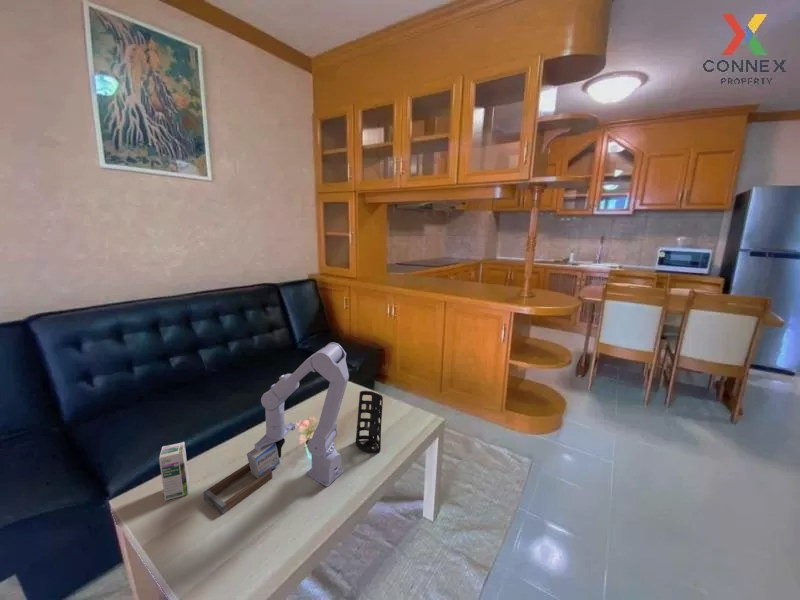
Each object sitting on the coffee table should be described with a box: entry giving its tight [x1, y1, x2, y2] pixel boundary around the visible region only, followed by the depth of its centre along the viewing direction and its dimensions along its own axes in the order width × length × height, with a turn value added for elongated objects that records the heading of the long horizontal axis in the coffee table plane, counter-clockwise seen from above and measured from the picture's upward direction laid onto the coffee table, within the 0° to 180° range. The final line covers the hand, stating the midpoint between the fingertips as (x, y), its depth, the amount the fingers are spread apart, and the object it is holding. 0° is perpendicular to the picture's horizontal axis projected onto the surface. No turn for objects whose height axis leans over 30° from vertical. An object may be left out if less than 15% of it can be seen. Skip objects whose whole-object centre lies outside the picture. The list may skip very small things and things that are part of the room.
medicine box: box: [246, 443, 280, 479], centre depth 107 cm, size 8×4×9 cm, turn 147°
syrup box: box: [158, 441, 190, 502], centre depth 97 cm, size 6×6×14 cm
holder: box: [355, 390, 384, 454], centre depth 121 cm, size 11×8×20 cm
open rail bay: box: [203, 462, 273, 515], centre depth 100 cm, size 9×16×2 cm, turn 148°
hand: (276, 457), depth 112 cm, fingers closed, pressing on medicine box
